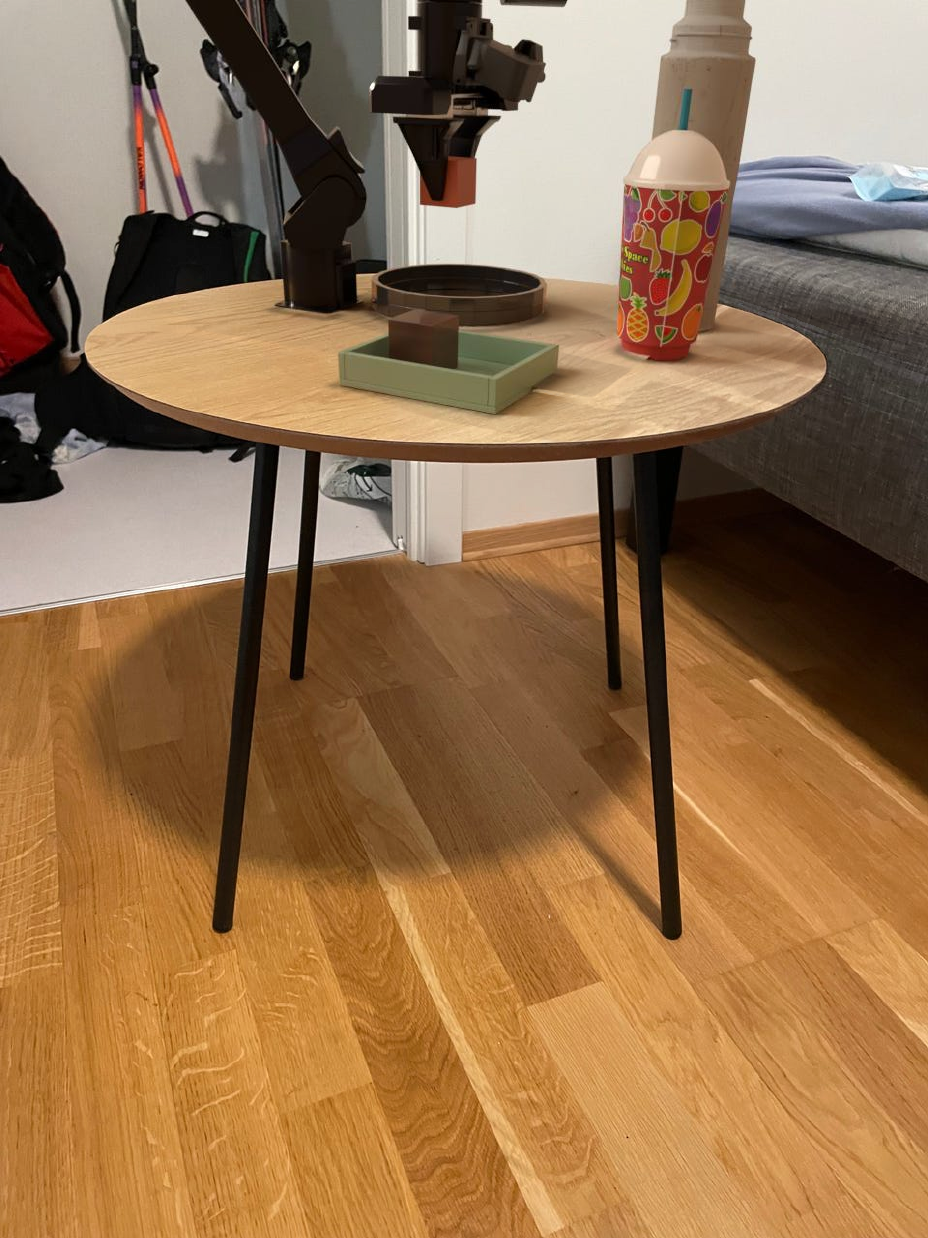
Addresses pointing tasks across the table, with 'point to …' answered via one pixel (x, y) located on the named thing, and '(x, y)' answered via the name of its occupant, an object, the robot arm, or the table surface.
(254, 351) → the table surface
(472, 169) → the terracotta block
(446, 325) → the walnut block
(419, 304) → the pan
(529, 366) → the tray
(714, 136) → the thermos bottle
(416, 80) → the robot arm
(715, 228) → the smoothie
